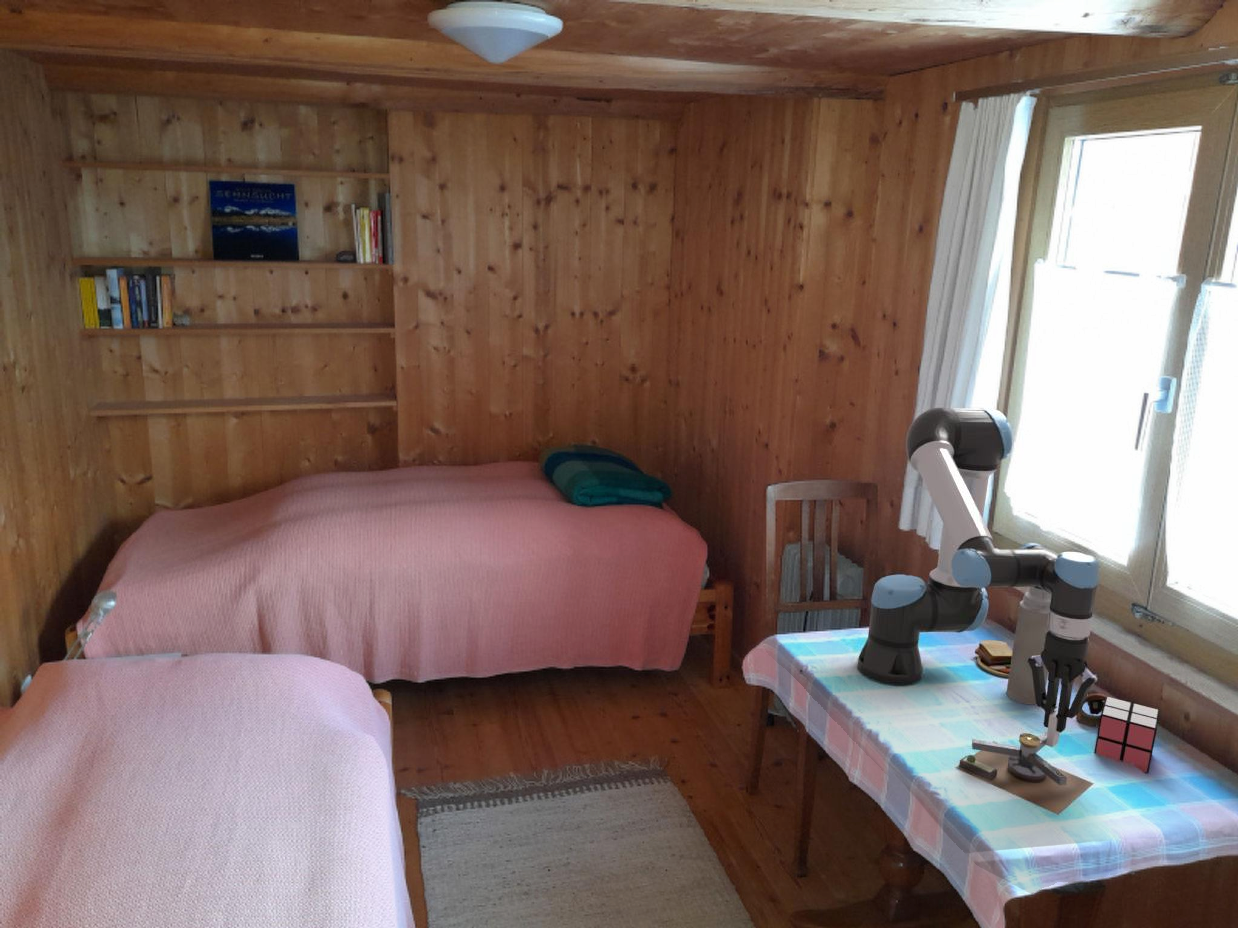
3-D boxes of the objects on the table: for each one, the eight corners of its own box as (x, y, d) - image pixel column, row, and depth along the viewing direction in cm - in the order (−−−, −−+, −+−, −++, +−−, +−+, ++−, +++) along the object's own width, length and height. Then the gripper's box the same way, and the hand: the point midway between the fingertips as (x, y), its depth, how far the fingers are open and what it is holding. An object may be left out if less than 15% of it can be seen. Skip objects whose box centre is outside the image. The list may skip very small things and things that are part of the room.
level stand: (954, 772, 186) (957, 754, 185) (992, 746, 196) (995, 729, 196) (1057, 820, 172) (1060, 801, 171) (1092, 788, 182) (1095, 770, 181)
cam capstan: (1060, 805, 174) (1066, 767, 172) (966, 765, 186) (971, 729, 184) (1091, 775, 184) (1097, 738, 183) (1000, 738, 197) (1005, 704, 195)
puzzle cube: (1148, 774, 188) (1157, 729, 186) (1092, 758, 193) (1100, 714, 191) (1151, 753, 197) (1159, 709, 194) (1098, 738, 202) (1105, 695, 199)
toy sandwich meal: (988, 679, 228) (991, 661, 227) (967, 655, 241) (969, 637, 240) (1039, 680, 228) (1042, 662, 227) (1015, 656, 242) (1018, 639, 240)
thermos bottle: (1007, 685, 224) (1024, 573, 218) (1043, 693, 221) (1062, 580, 215) (1005, 699, 217) (1022, 584, 211) (1043, 707, 214) (1061, 591, 208)
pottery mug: (1135, 740, 203) (1127, 713, 199) (1090, 752, 205) (1081, 726, 202) (1112, 701, 213) (1104, 674, 210) (1069, 713, 216) (1061, 687, 212)
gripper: (1026, 627, 184) (1011, 737, 190) (1095, 648, 175) (1077, 763, 181) (1042, 617, 189) (1027, 725, 195) (1110, 638, 180) (1093, 750, 186)
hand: (1051, 743), depth 188 cm, fingers closed
